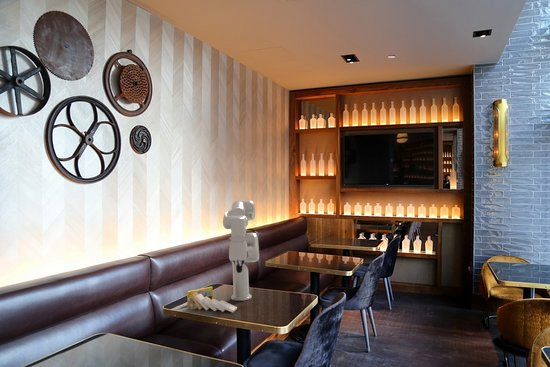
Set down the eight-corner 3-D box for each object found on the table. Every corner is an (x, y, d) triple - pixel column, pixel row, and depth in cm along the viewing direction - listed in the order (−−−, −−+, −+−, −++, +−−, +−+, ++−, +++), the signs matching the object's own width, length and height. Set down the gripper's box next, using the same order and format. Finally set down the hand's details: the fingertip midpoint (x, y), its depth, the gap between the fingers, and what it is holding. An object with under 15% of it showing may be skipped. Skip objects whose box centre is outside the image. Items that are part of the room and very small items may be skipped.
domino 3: (214, 311, 221) (201, 301, 224) (218, 308, 226) (205, 298, 229) (216, 308, 221) (202, 298, 224) (220, 306, 226) (206, 296, 228)
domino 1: (199, 309, 224) (190, 294, 226) (203, 306, 229) (194, 292, 231) (201, 308, 224) (192, 293, 226) (205, 305, 229) (196, 290, 230)
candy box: (188, 305, 233) (188, 292, 233) (187, 305, 235) (186, 291, 235) (213, 300, 243) (212, 286, 243) (211, 299, 244) (211, 286, 244)
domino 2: (206, 310, 223) (194, 297, 225) (210, 307, 228) (199, 295, 230) (208, 308, 222) (196, 295, 225) (212, 305, 227) (200, 293, 229)
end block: (187, 309, 226) (187, 299, 226) (193, 306, 232) (192, 296, 232) (192, 309, 225) (192, 299, 225) (197, 306, 231) (197, 296, 231)
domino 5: (232, 312, 218) (217, 305, 221) (236, 309, 222) (221, 302, 225) (233, 310, 217) (217, 302, 220) (237, 307, 222) (221, 300, 225)
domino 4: (223, 312, 219) (208, 303, 222) (227, 309, 224) (212, 300, 227) (224, 309, 219) (209, 300, 222) (228, 306, 224) (213, 298, 227)
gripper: (223, 240, 217) (224, 273, 218) (248, 240, 213) (249, 274, 213) (229, 238, 225) (230, 270, 225) (253, 238, 220) (254, 271, 220)
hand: (239, 272), depth 219 cm, fingers closed
